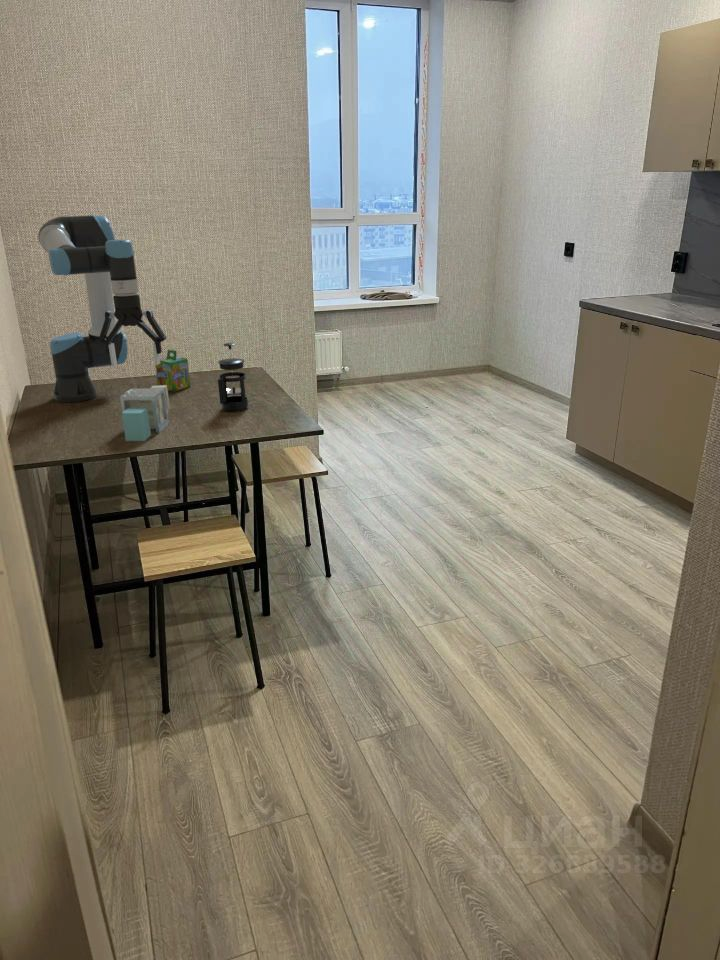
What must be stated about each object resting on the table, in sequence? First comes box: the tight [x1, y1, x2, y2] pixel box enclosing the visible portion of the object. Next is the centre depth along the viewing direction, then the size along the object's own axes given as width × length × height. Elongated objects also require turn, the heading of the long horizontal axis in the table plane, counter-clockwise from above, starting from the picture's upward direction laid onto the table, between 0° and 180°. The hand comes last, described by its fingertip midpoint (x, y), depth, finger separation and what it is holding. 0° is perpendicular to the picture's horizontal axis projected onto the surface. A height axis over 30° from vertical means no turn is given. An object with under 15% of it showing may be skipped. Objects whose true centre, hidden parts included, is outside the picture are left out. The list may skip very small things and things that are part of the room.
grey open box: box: [119, 387, 169, 434], centre depth 226 cm, size 10×11×12 cm
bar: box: [138, 385, 171, 430], centre depth 236 cm, size 22×5×9 cm, turn 5°
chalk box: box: [155, 349, 191, 393], centre depth 273 cm, size 9×9×15 cm
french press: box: [217, 342, 250, 413], centre depth 243 cm, size 12×9×23 cm
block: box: [121, 407, 152, 442], centre depth 218 cm, size 6×6×9 cm
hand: (136, 364), depth 217 cm, fingers open, 13 cm apart
